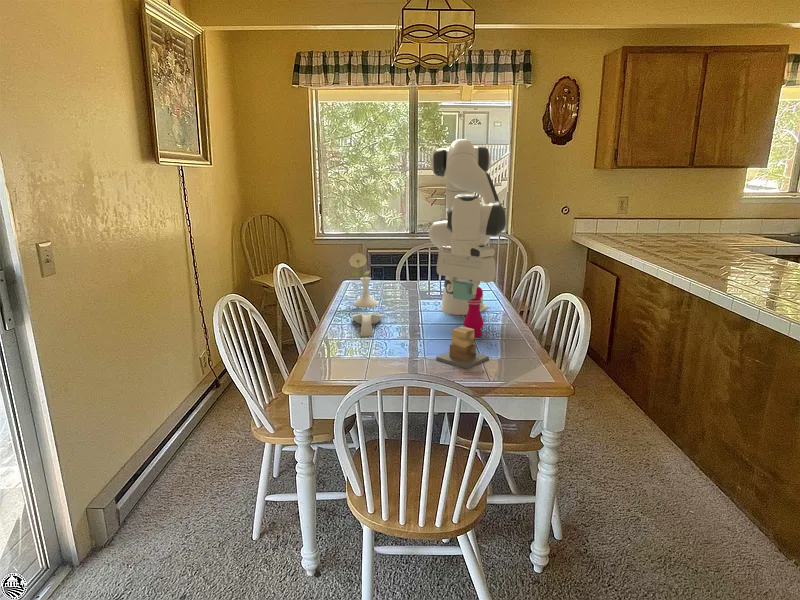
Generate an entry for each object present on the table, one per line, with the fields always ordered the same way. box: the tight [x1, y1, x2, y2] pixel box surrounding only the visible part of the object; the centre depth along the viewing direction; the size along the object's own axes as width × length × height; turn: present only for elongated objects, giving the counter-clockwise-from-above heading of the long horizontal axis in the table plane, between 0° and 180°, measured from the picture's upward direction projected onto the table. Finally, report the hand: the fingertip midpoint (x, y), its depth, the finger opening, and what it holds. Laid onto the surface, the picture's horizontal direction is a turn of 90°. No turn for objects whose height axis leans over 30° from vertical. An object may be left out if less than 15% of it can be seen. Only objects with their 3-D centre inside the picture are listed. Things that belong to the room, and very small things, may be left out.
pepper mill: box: [463, 286, 484, 338], centre depth 185 cm, size 7×7×20 cm
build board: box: [435, 351, 490, 370], centre depth 162 cm, size 12×12×1 cm
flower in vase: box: [348, 252, 379, 308], centre depth 224 cm, size 13×11×25 cm
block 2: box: [451, 325, 475, 348], centre depth 160 cm, size 5×5×5 cm
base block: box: [449, 343, 477, 361], centre depth 161 cm, size 6×6×4 cm
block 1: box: [453, 280, 476, 301], centre depth 157 cm, size 5×5×5 cm
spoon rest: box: [351, 312, 383, 337], centre depth 196 cm, size 24×12×7 cm, turn 4°
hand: (464, 292), depth 157 cm, fingers closed on block 1, 5 cm apart
